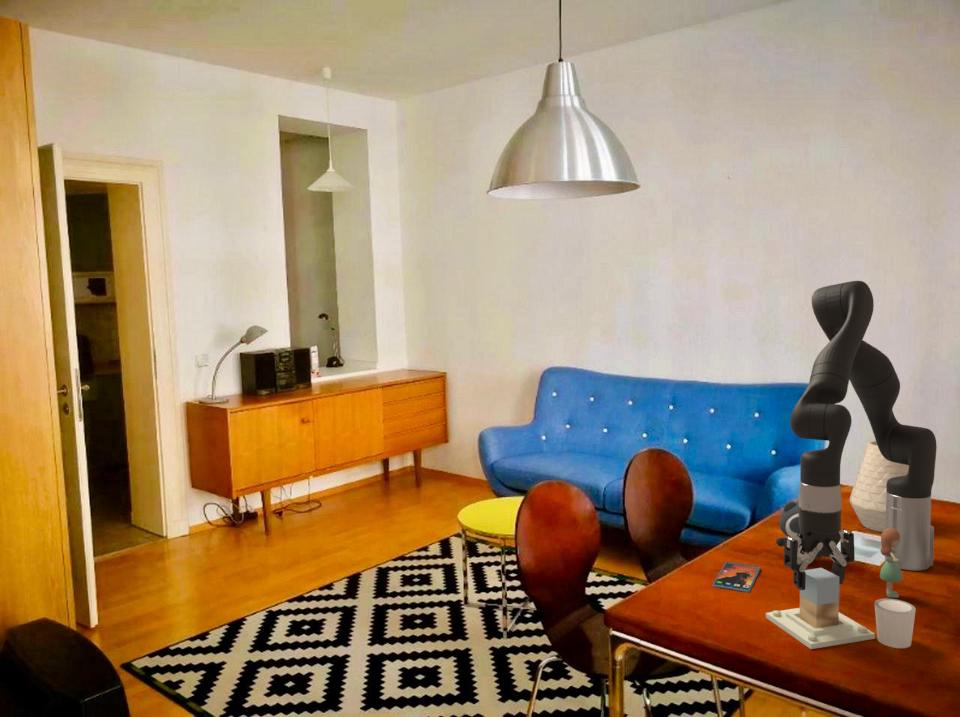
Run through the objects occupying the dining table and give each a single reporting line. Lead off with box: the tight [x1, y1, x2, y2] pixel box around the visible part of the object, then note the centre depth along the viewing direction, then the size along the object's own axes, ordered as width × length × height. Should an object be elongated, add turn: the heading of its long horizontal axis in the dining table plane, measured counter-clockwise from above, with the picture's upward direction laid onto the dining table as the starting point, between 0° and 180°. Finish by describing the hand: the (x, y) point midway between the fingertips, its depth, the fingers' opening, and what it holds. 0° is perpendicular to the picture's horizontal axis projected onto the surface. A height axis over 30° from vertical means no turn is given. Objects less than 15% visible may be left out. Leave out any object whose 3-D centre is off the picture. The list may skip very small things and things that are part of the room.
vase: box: [849, 440, 909, 533], centre depth 205 cm, size 18×17×23 cm
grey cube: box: [799, 567, 840, 605], centre depth 148 cm, size 5×5×5 cm
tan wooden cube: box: [799, 595, 840, 629], centre depth 149 cm, size 5×5×5 cm
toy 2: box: [879, 528, 904, 599], centre depth 161 cm, size 13×4×15 cm, turn 163°
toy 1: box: [775, 500, 808, 562], centre depth 182 cm, size 12×10×15 cm
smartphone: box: [712, 561, 761, 594], centre depth 175 cm, size 8×1×15 cm
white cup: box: [874, 598, 916, 649], centre depth 142 cm, size 7×7×7 cm
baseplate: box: [765, 607, 876, 650], centre depth 149 cm, size 14×14×2 cm
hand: (818, 585), depth 148 cm, fingers open, 8 cm apart
